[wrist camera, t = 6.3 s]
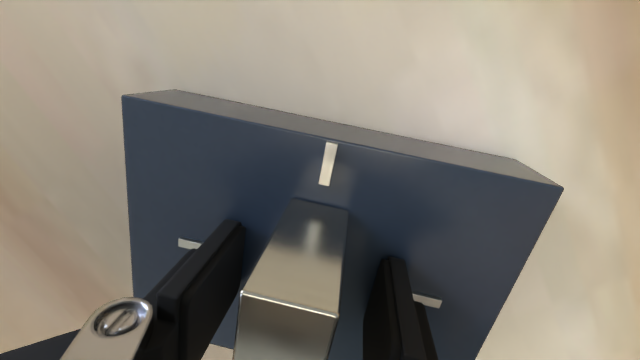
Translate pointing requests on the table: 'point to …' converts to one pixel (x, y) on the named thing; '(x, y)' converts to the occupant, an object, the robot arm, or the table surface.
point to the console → (334, 191)
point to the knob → (294, 287)
